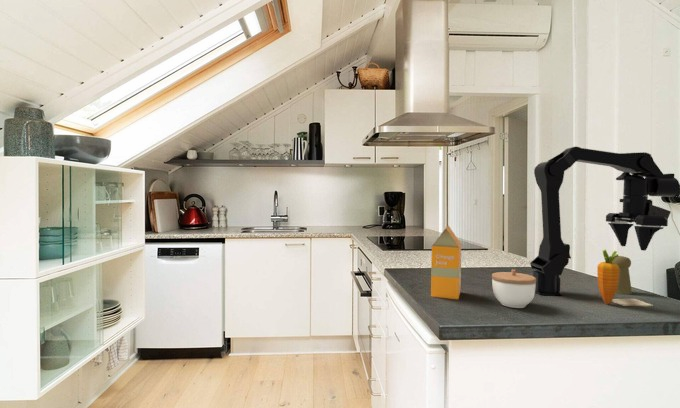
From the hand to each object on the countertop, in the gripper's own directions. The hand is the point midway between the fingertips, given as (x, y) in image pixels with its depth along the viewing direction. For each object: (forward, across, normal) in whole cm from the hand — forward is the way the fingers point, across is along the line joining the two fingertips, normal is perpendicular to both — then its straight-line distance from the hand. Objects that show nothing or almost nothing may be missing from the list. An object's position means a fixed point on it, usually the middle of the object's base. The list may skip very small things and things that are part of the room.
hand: (632, 248), depth 109 cm
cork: (+14, +4, +1) cm, 15 cm away
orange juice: (+15, -9, +55) cm, 58 cm away
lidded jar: (+15, -17, +38) cm, 45 cm away
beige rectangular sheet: (+14, -9, +6) cm, 18 cm away
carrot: (+14, -12, +13) cm, 23 cm away
